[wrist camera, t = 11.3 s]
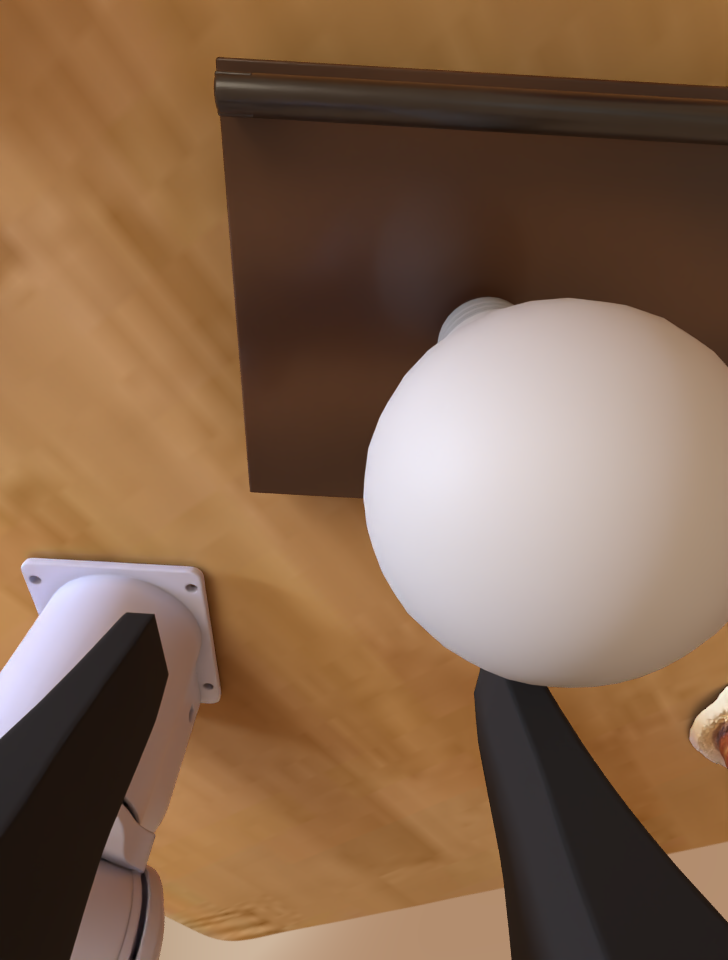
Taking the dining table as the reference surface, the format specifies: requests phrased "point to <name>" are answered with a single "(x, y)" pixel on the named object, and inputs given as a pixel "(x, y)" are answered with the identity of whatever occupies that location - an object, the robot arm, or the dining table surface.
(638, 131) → the shelf
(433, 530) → the lightbulb
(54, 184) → the dining table surface
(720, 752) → the dessert
